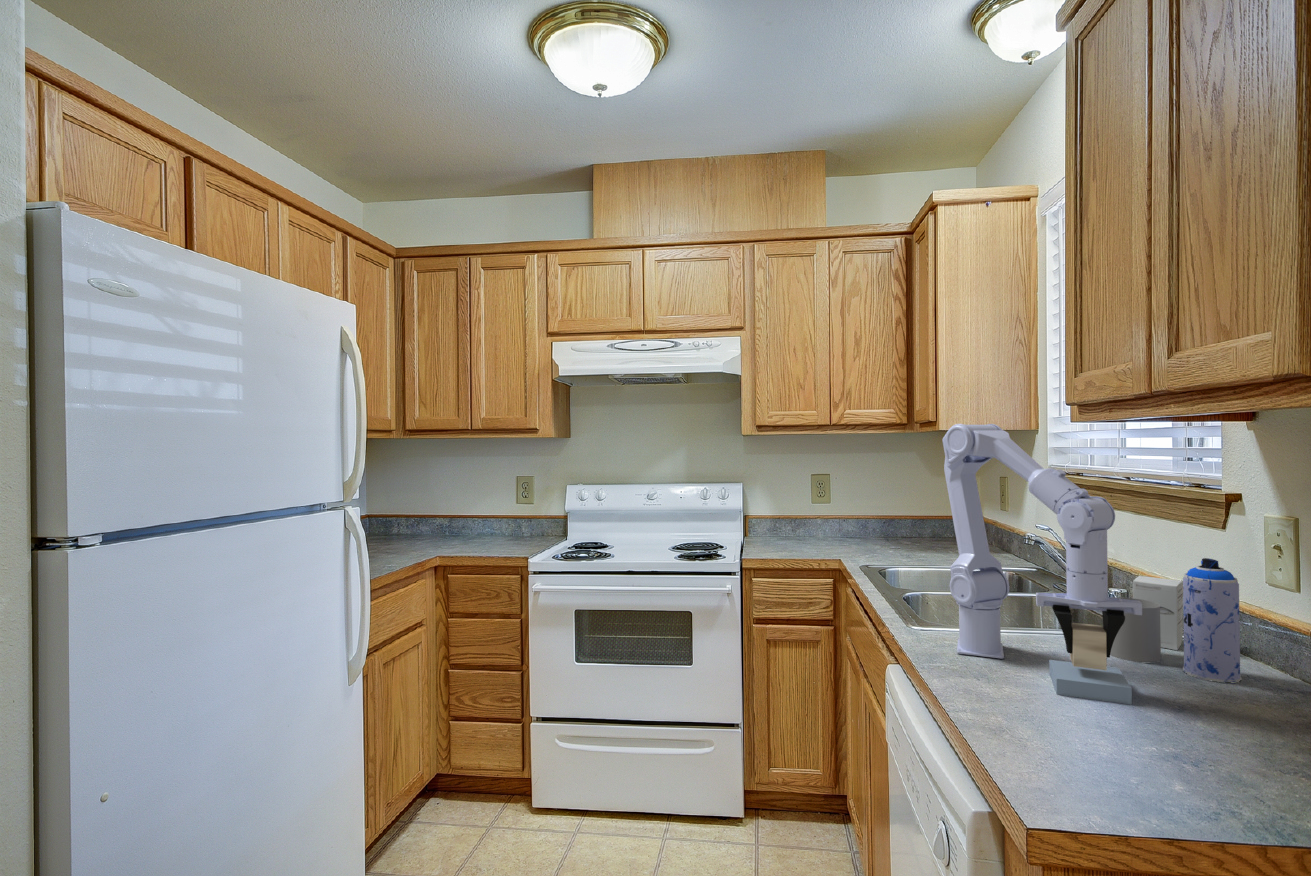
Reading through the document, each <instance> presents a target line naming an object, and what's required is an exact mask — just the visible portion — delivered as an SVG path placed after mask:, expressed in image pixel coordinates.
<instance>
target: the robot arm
mask: <svg viewBox="0 0 1311 876" xmlns="http://www.w3.org/2000/svg"><path fill="white" fill-rule="evenodd" d="M941 440H942V445H943V451H944V456H945V457H944V464H943V467H944V468H943V471H944V476H945V482H946V487H947V488H946V489H947V494H948V498H949V504H950V505H949V506H950V511H951V516H952V522H953V527H954V528H953V529H954V533H955V538H956V539H955V540H956V546H957V550H958V557H957V558H956V559H955V560H954V562H953V563H952V564H951V565H950V568H949V569H950V581H949V590H950V595H951V596H952V598H953V599H954V600H955V602H956V605H958V614H959V615H958V620H959V621H958V622H959V623H958V629H959V630H958V632H959V637H958V638H957V645H956V653H957V654H959V655H960V654H961V655H967V656H968V655H969V656H978V657H986V658H993V659H1001V660H1002V659H1004V658H1005V657H1004V655H1005V654H1004V647H1003V643H1002V639H1001V638H1002V637H1001V636H1002V635H1001V633H1002V631H1001V626H1002V625H1001V606H1004V605H1003V600H1005V599H1006V598H1007V597H1008V595H1009V594H1010V593H1009V592H1010V583H1009V579H1008V577H1007V576H1006V574H1005V573H1004V571H1003V567H1002V562H1000V560H998V559H997V558H996V557H995V556H993V554H992V553H991V552H990V547H989V541H988V535H987V530H986V526H985V524H986V523H985V520H984V516H983V508H982V504H981V499H980V494H979V493H980V492H979V487H978V481H977V476H976V474H977V473H978V471H979V470H980V469H981V467H982V466H983V465H986V463H988V462H989V461H990V460H992V459H993V458H994V459H996V460H997V461H999V462H1000V463H1002V464H1003V465H1005V466H1006V467H1007V468H1008V469H1010V470H1012V471H1013V473H1014V474H1016V475H1018V476H1020V477H1021V478H1022V479H1023V480H1025V481H1026V482H1028V491H1029V493H1031V494H1032V495H1033V496H1034V497H1035V498H1036V499H1037V500H1039V502H1041V503H1042V504H1043V505H1044V506H1046V508H1048V509H1050V510H1051V512H1053V513H1054V514H1055V515H1056V519H1057V523H1058V524H1059V525H1058V526H1060V528H1061V529H1062V531H1063V539H1064V540H1065V550H1066V551H1065V556H1066V557H1065V558H1066V559H1065V561H1066V563H1065V565H1066V567H1065V568H1066V569H1065V570H1066V572H1065V573H1066V577H1065V579H1066V592H1064V593H1063V592H1058V593H1057V592H1035V604H1036V607H1042V608H1044V607H1051V608H1052V611H1053V613H1054V616H1055V617H1056V619H1057V622H1059V623H1058V624H1059V625H1060V628H1061V632H1062V634H1063V637H1064V642H1065V647H1066V652H1067V654H1070V653H1072V652H1073V645H1072V634H1071V633H1072V623H1073V615H1072V610H1071V609H1077V610H1088V611H1089V610H1090V611H1100V612H1101V613H1102V616H1101V617H1102V627H1103V629H1104V630H1105V632H1106V654H1107V659H1108V658H1111V655H1110V653H1111V649H1112V645H1113V642H1114V640H1115V637H1116V635H1117V633H1118V631H1119V630H1120V628H1121V626H1122V625H1123V624H1124V621H1125V616H1124V613H1133V614H1134V615H1142V603H1141V602H1140V601H1137V600H1128V599H1120V598H1114V597H1113V596H1109V593H1108V592H1109V590H1108V589H1109V583H1108V582H1109V579H1108V578H1109V577H1108V576H1109V575H1108V574H1109V573H1108V572H1109V571H1108V570H1109V569H1108V568H1109V567H1108V566H1109V565H1108V530H1109V529H1111V528H1112V527H1113V525H1114V523H1115V521H1116V513H1115V509H1114V507H1113V506H1112V505H1111V503H1110V502H1108V500H1107V499H1106V498H1104V497H1102V496H1097V495H1096V496H1091V495H1090V494H1089V491H1088V490H1087V489H1086V488H1080V486H1078V485H1077V484H1076V483H1074V482H1073V481H1072V480H1071V479H1069V478H1068V477H1067V476H1066V475H1067V472H1065V471H1064V470H1063V469H1056V468H1054V467H1048V468H1045V467H1043V466H1042V465H1040V463H1038V462H1037V461H1036V460H1035V459H1034V458H1033V457H1031V456H1030V454H1028V453H1027V452H1026V451H1025V450H1023V449H1022V448H1021V447H1020V446H1019V445H1018V444H1017V443H1016V442H1015V441H1014V440H1013V439H1011V437H1010V433H1009V432H1008V431H1006V430H1004V429H1002V428H1001V427H1000V426H999V425H997V424H995V423H987V424H964V423H955V424H953V425H952V426H950V428H949V429H948V430H947V432H946V433H945V435H944V436H943V438H942V439H941Z"/></svg>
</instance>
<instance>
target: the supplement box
mask: <svg viewBox="0 0 1311 876" xmlns="http://www.w3.org/2000/svg"><path fill="white" fill-rule="evenodd" d="M1132 598H1135V599H1142V600H1147V601H1152V602H1155V603H1157V604H1159V605H1160V635H1161V649H1162V648H1163V649H1169V650H1173V651H1178V650H1179V648H1180V647H1181V646H1182V644H1183V639H1184V618H1183V580H1178V579H1170V578H1169V579H1168V578H1160V577H1153V576H1145V575H1144V576H1143V575H1138V576H1137V577H1135V579H1133V581H1132Z"/></svg>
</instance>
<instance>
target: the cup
mask: <svg viewBox="0 0 1311 876" xmlns="http://www.w3.org/2000/svg"><path fill="white" fill-rule="evenodd" d="M1113 598H1120V599H1128V600H1137V601H1140V602H1141V603H1142V615H1134V614H1133V613H1124V616H1125V621H1124V624H1123V625H1122V626H1121V628H1120V630H1119V631H1118V633H1117V635H1116V637H1115V640H1114V642H1113V645H1112V649H1111V653H1110V657H1113V658H1116V659H1119V660H1123V661H1128V662H1132V663H1133V662H1134V663H1142V662H1155V663H1158V661H1159V662H1161V661H1160V660H1162V654H1161V652H1162V651H1161V650H1162V647H1161V635H1160V605H1159V604H1157V603H1155V602H1152V601H1147V600H1142V599H1135V598H1133V597H1124V596H1123V597H1121V596H1116V597H1113Z"/></svg>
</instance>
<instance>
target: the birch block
mask: <svg viewBox="0 0 1311 876" xmlns="http://www.w3.org/2000/svg"><path fill="white" fill-rule="evenodd" d="M1071 634H1072V645H1073V652H1072V653H1069V655H1070V656H1069V658H1070V662H1072V664H1073V666H1075V667H1083V668H1091V669H1100V670H1107V666H1108V665H1107V659H1108V657H1107V654H1106V632H1105V630H1104V629H1103V625H1098V624H1089V623H1079V622H1072V633H1071Z"/></svg>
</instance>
